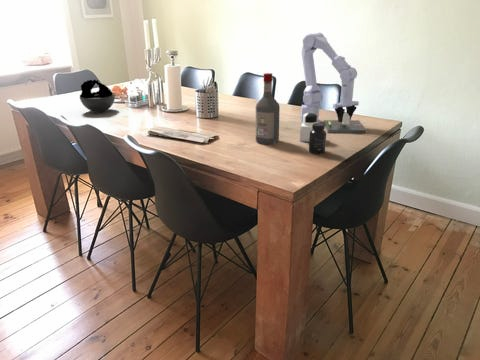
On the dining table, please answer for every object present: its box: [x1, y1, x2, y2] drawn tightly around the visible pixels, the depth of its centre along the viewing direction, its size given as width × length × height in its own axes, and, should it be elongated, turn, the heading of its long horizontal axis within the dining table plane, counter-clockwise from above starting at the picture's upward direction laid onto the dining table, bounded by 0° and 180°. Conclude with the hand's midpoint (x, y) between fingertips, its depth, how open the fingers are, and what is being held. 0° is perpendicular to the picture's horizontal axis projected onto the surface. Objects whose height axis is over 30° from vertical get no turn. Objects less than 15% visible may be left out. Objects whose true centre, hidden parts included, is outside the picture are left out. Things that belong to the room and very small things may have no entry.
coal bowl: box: [79, 79, 116, 113], centre depth 233 cm, size 20×20×19 cm
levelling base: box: [323, 119, 367, 134], centre depth 196 cm, size 18×18×3 cm
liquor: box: [255, 72, 280, 145], centre depth 172 cm, size 9×9×30 cm
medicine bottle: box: [299, 113, 317, 143], centre depth 177 cm, size 7×7×12 cm
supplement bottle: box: [308, 122, 327, 155], centre depth 162 cm, size 7×7×12 cm
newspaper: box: [145, 126, 220, 144], centre depth 186 cm, size 35×12×4 cm, turn 63°
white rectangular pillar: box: [342, 111, 350, 125], centre depth 195 cm, size 3×9×6 cm, turn 177°
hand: (344, 121), depth 195 cm, fingers closed on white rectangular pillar, 5 cm apart
